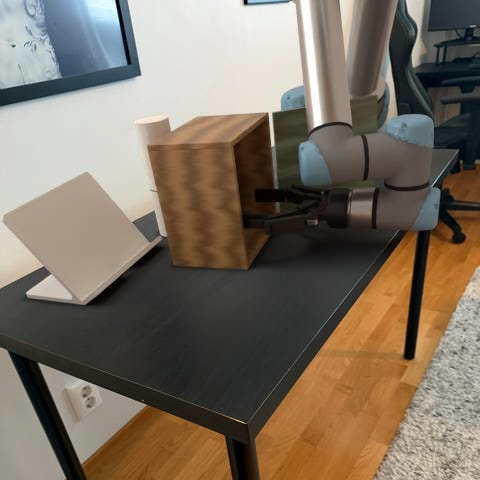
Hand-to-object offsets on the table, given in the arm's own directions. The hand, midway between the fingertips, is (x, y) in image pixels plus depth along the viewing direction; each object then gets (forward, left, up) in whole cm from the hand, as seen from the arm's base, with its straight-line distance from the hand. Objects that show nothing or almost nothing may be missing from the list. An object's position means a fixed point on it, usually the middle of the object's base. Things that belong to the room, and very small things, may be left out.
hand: (244, 207), depth 97 cm
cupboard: (+2, -4, -8) cm, 10 cm away
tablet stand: (+24, -21, -8) cm, 33 cm away
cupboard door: (-22, +5, -8) cm, 24 cm away
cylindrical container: (+2, -21, -8) cm, 23 cm away
